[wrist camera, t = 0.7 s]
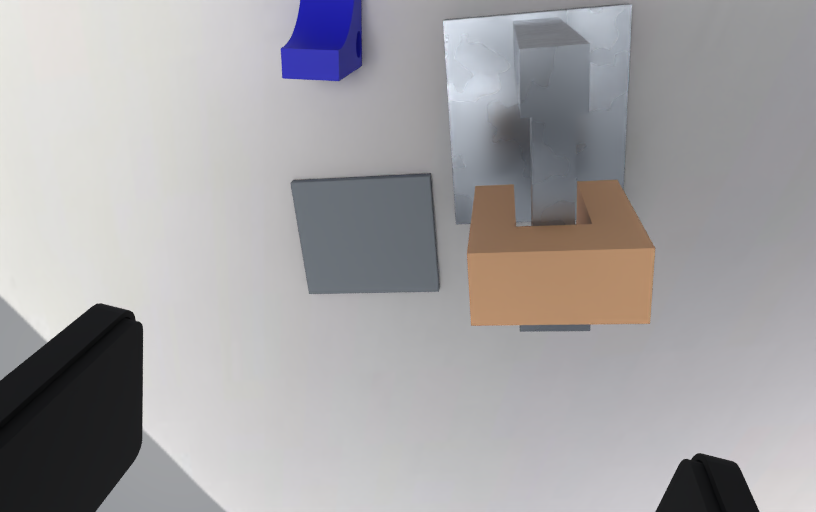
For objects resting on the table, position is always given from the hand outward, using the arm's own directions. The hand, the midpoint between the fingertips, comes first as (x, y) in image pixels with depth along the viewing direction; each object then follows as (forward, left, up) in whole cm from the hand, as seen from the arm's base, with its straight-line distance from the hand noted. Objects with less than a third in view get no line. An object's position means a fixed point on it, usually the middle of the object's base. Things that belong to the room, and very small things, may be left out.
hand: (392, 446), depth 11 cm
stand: (-4, +1, -30) cm, 30 cm away
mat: (+7, +8, -30) cm, 32 cm away
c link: (-4, +4, -21) cm, 21 cm away
